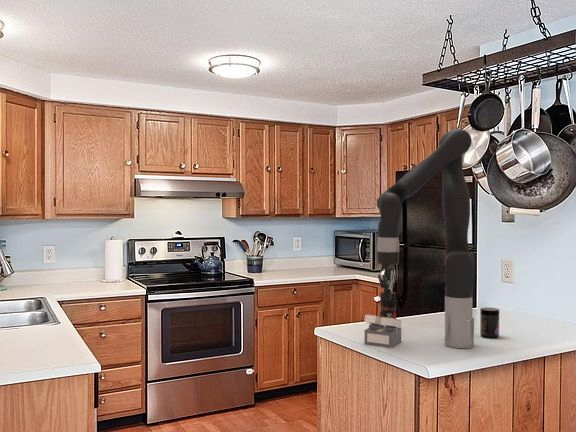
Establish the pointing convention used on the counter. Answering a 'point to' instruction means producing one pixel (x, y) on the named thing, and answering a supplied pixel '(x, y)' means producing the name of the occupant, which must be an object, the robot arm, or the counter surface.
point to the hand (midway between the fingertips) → (387, 299)
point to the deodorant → (388, 306)
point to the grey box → (382, 335)
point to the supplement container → (489, 323)
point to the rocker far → (373, 319)
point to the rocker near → (390, 322)
